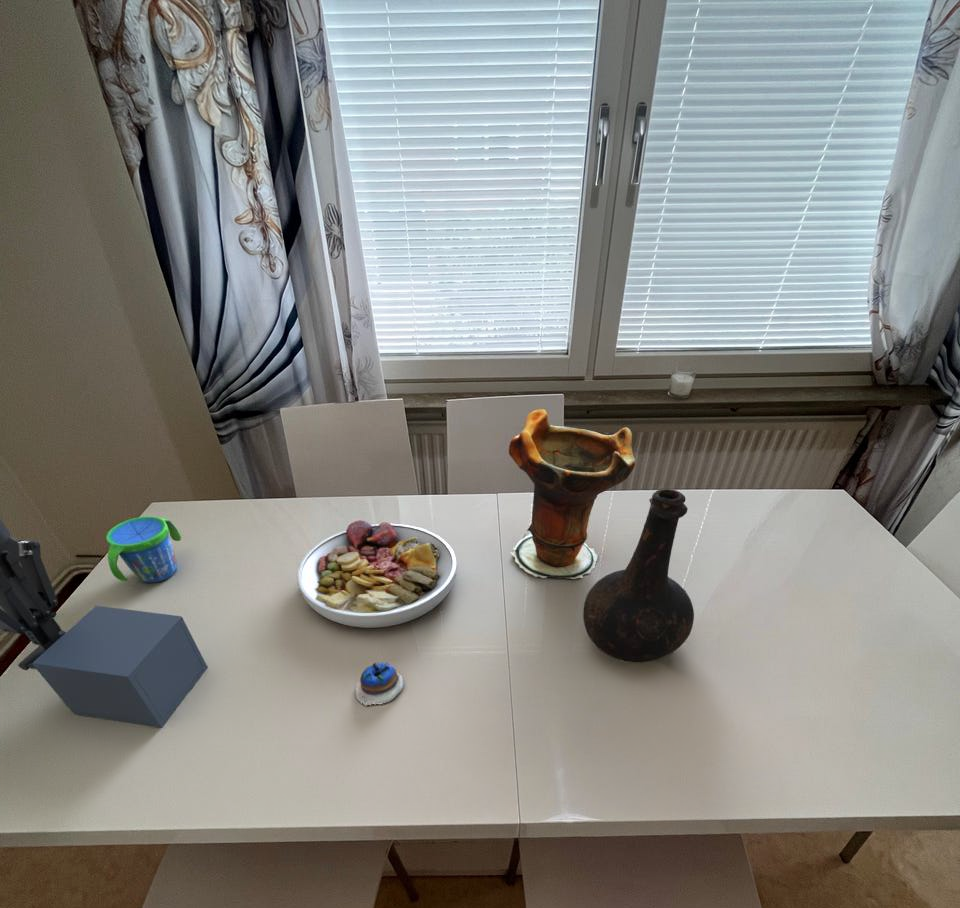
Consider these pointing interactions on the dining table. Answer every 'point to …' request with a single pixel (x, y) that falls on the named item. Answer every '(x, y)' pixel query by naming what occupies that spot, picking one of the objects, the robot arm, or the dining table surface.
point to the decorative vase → (565, 491)
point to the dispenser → (124, 665)
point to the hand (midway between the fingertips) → (60, 653)
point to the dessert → (378, 684)
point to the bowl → (377, 574)
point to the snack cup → (143, 548)
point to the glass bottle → (643, 593)
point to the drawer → (33, 656)
